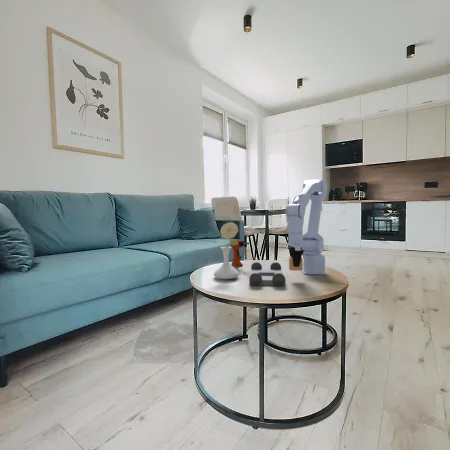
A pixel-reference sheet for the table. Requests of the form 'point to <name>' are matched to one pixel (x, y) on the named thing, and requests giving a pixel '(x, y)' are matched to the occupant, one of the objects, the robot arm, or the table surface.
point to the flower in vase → (227, 253)
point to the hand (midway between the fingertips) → (295, 265)
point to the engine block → (295, 267)
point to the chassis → (266, 275)
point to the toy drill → (237, 253)
